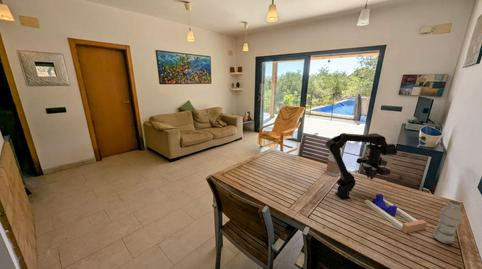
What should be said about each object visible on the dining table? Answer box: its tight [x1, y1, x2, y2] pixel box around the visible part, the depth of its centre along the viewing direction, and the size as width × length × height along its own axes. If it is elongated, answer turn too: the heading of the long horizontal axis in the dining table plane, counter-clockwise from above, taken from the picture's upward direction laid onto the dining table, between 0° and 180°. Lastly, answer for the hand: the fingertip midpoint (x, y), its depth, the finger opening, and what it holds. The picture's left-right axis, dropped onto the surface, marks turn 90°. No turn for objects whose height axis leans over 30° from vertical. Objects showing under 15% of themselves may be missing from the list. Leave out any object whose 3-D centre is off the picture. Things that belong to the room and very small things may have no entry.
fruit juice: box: [326, 142, 343, 177], centre depth 146 cm, size 9×9×28 cm
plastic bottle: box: [433, 200, 463, 245], centre depth 84 cm, size 6×7×20 cm
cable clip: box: [371, 193, 398, 217], centre depth 108 cm, size 12×4×6 cm, turn 179°
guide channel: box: [364, 198, 428, 234], centre depth 103 cm, size 12×24×4 cm, turn 12°
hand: (369, 178), depth 116 cm, fingers closed
